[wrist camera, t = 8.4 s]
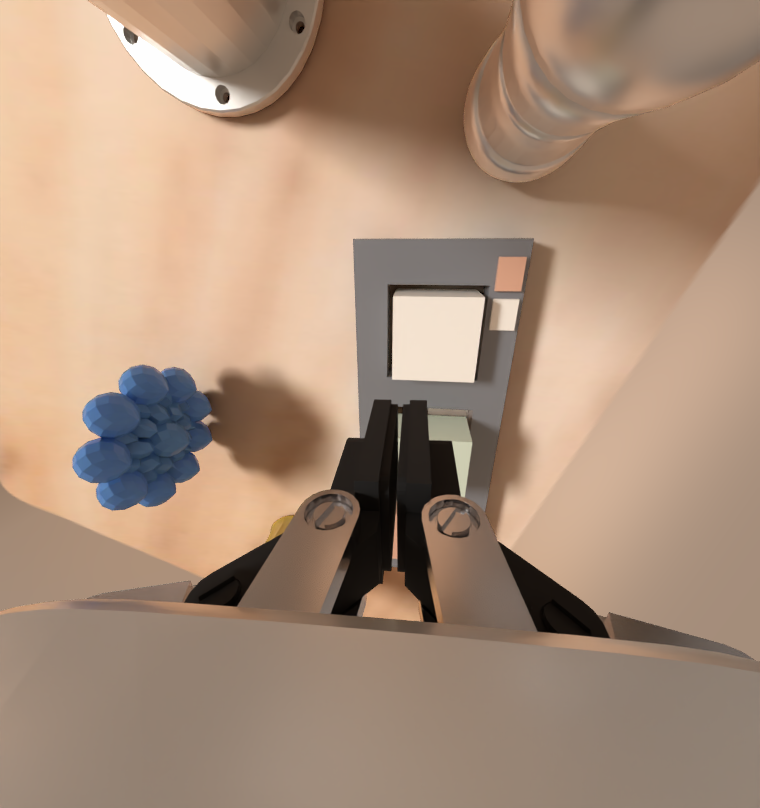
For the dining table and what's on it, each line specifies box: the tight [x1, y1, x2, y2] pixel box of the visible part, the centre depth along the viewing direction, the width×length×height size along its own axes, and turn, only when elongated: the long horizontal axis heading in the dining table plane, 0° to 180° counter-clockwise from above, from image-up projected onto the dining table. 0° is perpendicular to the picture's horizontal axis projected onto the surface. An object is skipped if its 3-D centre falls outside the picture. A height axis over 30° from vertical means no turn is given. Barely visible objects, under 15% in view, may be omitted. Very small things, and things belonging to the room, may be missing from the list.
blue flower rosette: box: [73, 365, 212, 510], centre depth 25 cm, size 12×7×12 cm, turn 171°
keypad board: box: [353, 238, 534, 567], centre depth 28 cm, size 30×11×2 cm, turn 0°
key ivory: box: [392, 288, 485, 383], centre depth 24 cm, size 6×6×4 cm
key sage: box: [398, 413, 472, 497], centre depth 26 cm, size 6×6×4 cm
